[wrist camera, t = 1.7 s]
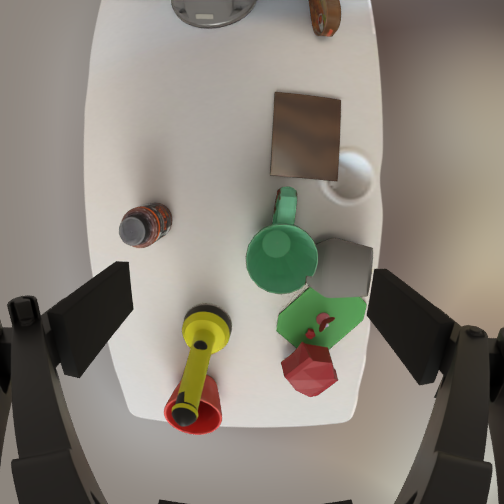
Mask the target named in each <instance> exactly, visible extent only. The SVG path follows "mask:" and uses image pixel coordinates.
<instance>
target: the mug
mask: <svg viewBox="0 0 504 504" xmlns="http://www.w3.org/2000/svg"><path fill="white" fill-rule="evenodd" d="M296 205H297V191H296V190H295V189H294V188H292V187H289V186H288V187H282V188H280V189H279V190H278V191H277V196H276V201H275V206H274V214H273V222H272V225H270V226H267V227H265V228H263V229H262V230H260V231H259V232H258V233H257V234H256V235H255V236H254V237H253V239H252V240H251V242H250V244H249V245H248V249H247V253H246V266H247V270H248V273H249V275H250V277H251V279H252V280H253V281H254V282H255V283H256V284H257V286H258V287H260V288H262V289H264V290H265V291H267V292H270V293H275V294H287V293H292V292H294V291H297V290H299V289H301V288H302V287H303V286H304V285H305V284H306V282H307V281H306V279H307V276H309V277H313V275H314V274H315V271H316V268H317V264H318V251H317V248H316V246H315V243H314V241H313V240H312V238H311V237H310V236H309V235H308V233H307V232H305V231H304V230H302V229H301V228H299V227H298V226H295V225H294V221H295V214H296Z"/></svg>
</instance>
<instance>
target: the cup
mask: <svg viewBox="0 0 504 504" xmlns="http://www.w3.org/2000/svg"><path fill="white" fill-rule="evenodd" d="M315 246H316V248H317V251H318V264H317V268H316V271H315V274H314V275H313V277H309V276H307V279H306V281H307V282H306V283H307V284H308V285H309V286H310V287H311V288H312V289H314V290H315V291H317V292H318V293H320V294H321V295H322V296H324V297H327V298H346V297H367V296H368V292H369V287H370V281H371V274H372V263H373V248H371V247H368V246H364V245H360V244H356V243H353V242H349V241H345V240H341V239H337V238H331V239H328V240H325V241H323V242H321V243H318V244H316V245H315Z"/></svg>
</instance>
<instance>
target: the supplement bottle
mask: <svg viewBox="0 0 504 504" xmlns="http://www.w3.org/2000/svg"><path fill="white" fill-rule="evenodd" d="M171 225H172V216H171V213H170V211H169V210H168V208H167V207H165V206H164V205H162V204H160V203H151V204H147V205H143V206H140V207H136V208H133V209H131V210H129V211H128V212H127V213H126V214H125V215H124V217H123V219H122V222H121V224H120V227H119V235H120V237H121V239H122V241H123V242H124V243H126V244H127V245H130V246H133V247H136V248H145V247H148V246H150V245H151V244H153V243H154V242H156V241H157V240H159V239H160V238H161V237H163V236H164V235H166V234H167V233H168V232H169V230H170V228H171Z"/></svg>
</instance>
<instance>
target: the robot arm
mask: <svg viewBox="0 0 504 504" xmlns="http://www.w3.org/2000/svg"><path fill="white" fill-rule="evenodd" d="M256 1H257V0H171V3H172V7H173V9H174V11H175V13H176V15H177V16H178V17H179V18H180V19H181V20H182V21H183V22H185V23H187V24H189V25H192V26H195V27H200V28H218V27H223V26H227V25H230V24H233V23H235V22H237V21H239V20H241V19H242V18H244V17H245V16H246V15H248V14H249V13H250V12H251V10H252V9H253V8H254V6H255V4H256ZM7 306H8V311H9V314H10V318H11V322H12V328H5V327H4V328H3V327H2V324H1V321H0V464H1V456H2V449H3V442H4V436H5V431H6V425H7V420H8V415H9V410H10V406H11V402H12V408H13V418H14V427H15V436H16V442H17V448H18V455H19V459H13V460H12V462H11V468H12V474H13V479H14V484H15V488H16V492H17V497H18V501H19V504H108V503H107V501H106V499H105V497H104V496H103V494H102V491H101V489H100V488H99V485H98V483H97V481H96V479H95V477H94V475H93V473H92V471H91V468H90V466H89V464H88V462H87V459H86V457H85V454H84V452H83V450H82V447H81V445H80V442H79V439H78V437H77V434H76V432H75V429H74V426H73V423H72V420H71V417H70V414H69V411H68V408H67V405H66V401H65V398H64V395H63V391H62V388H61V384H60V381H59V376H58V373H57V370H56V367H57V365H58V364H59V363H61V365H62V369H63V371H64V374H65V375H68V376H72V377H77V378H80V377H81V376H82V374H83V373H84V372H85V370H86V369H87V368H88V366H89V365H90V364H91V362H92V361H93V360H94V359H95V357H96V356H97V355H98V353H99V352H100V351H101V349H102V348H103V347H104V346H105V344H106V343H107V342H108V340H109V339H110V338H111V337H112V335H113V334H114V333H115V332H116V330H117V329H118V328H119V327H120V325H121V324H122V323H123V322H124V320H125V319H126V318H127V317H128V315H129V314H130V313H131V312H132V310H133V300H132V292H131V282H130V271H129V262H119V261H116V262H115V263H113V264H112V265H110V266H109V267H107V268H106V269H105V270H103V271H102V272H100V273H99V274H98V275H96V276H95V277H93V278H92V279H91V280H89V281H88V282H87V283H85V284H84V285H82V286H81V287H80V288H78V289H77V290H76V291H74V292H73V293H71V294H70V295H69V296H68V297H66V298H64V299H62V300H61V301H59V302H58V303H57V304H56V305H54V306H53V307H52V308H50V309H49V310H48V311H46V312H45V313H44V314H42V315H40V311H39V306H38V302H37V299H36V297H34V296H21V297H17V298H15V299H12V300H11V301H9V302H8V304H7ZM367 316H368V318H369V319H370V320H371V321H372V323H373V324H374V325H375V327H376V328H377V329H378V330H379V332H380V333H381V334H382V336H383V337H384V338H385V340H386V341H387V342H388V344H389V345H390V346H391V348H392V349H393V350H394V352H395V353H396V354H397V356H398V357H399V358H400V360H401V361H402V362H403V364H404V365H405V366H406V368H407V369H408V370H409V372H410V373H411V374H412V376H413V378H414V379H415V380H416V381H417V383H418V384H419V385H424V384H429V383H433V382H434V381H435V379H436V376H437V373H438V371H439V370H440V371H441V373H442V374H443V378H442V380H441V383H440V385H439V387H438V390H437V392H436V395H435V396H434V398H436V400H435V404H434V408H433V410H432V414H431V417H430V420H429V423H428V426H427V429H426V431H425V434H424V437H423V440H422V443H421V445H420V448H419V450H418V453H417V455H416V458H415V460H414V463H413V465H412V467H411V470H410V472H409V474H408V476H407V478H406V481H405V483H404V485H403V487H402V489H401V492H400V493H399V495H398V497H397V499H396V501H395V503H394V504H486V503H487V498H488V494H489V488H490V483H491V477H492V464H491V463H490V462H485V461H483V460H484V453H485V446H486V437H487V428H488V424H489V429H490V434H491V440H492V445H493V452H494V459H495V467H496V475H497V486H498V501H499V504H504V328H501V329H500V331H499V334H498V337H497V338H488V336H487V333H486V332H485V331H484V330H482V329H480V328H479V327H476V326H470V325H466V326H462V327H461V326H460V325H459V324H458V323H457V322H455V321H454V320H453V319H451V318H449V316H448V315H447V314H445V313H444V312H443V311H442V310H440V309H439V308H437V307H435V306H434V305H433V304H432V303H430V302H429V301H428V300H426V299H425V298H424V297H423V296H421V295H420V294H419V293H418V292H416V291H415V290H414V289H412V288H411V287H410V286H408V285H407V284H406V283H405V282H403V281H402V280H401V279H399V278H398V277H397V276H395V275H394V274H392V273H391V272H390V271H389V270H387V269H374V274H373V281H372V287H371V293H370V299H369V305H368V310H367ZM158 504H185V503H178V502H172V501H166V500H159V503H158ZM326 504H352V500H346V501H339V502H333V503H326Z"/></svg>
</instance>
